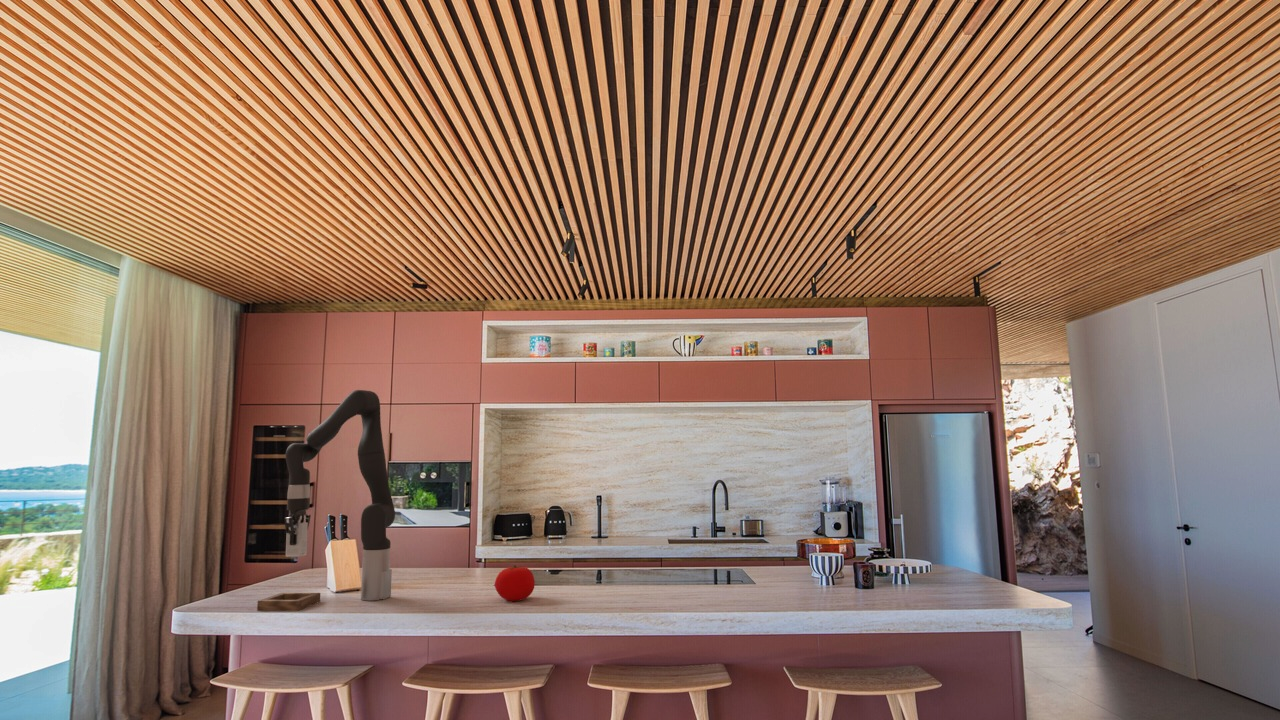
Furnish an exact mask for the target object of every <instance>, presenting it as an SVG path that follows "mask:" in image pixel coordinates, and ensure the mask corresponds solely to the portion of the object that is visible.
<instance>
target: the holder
mask: <svg viewBox="0 0 1280 720" xmlns="http://www.w3.org/2000/svg"><path fill="white" fill-rule="evenodd" d="M317 602H318V603H320V602H321V592H280V593H277V594H273V595H272V596H271V595H270V596H268V597H266V598H262V599H259V600H257V607H256V610H257V609H258V610H257V611H282V612H283V611H284V612H285V611H289V612H290V611H295V612H296V611H298V612H299V611H300V610H303V609H305V608H308V607H310V605H311V606H313V605H315V603H316V604H317Z"/></svg>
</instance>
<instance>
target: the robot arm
mask: <svg viewBox="0 0 1280 720" xmlns="http://www.w3.org/2000/svg"><path fill="white" fill-rule="evenodd" d="M355 416H360V417H361V423H362V424H361V426H362V433H361V437H360V440H359V443H358V447H357V459H358V466H359V467H358V468H359V471H360V473H361V476H362V477H363V480H364V482H365V483H366V485H367V487H368V489H369V491H370V497H371V504H369V505H367V506H365V508H364V509H363V510H362V513H361V519H360V537H361V538H360V540H361V543H362V563H361V564H362V568H361V569H362V570H361V586H360V587H361V592H360V600H362V601H380V600H379V599H384V600H385V598H386V599H388V598H390V597H391V596H392V578H393V577H392V575H393V572H392V569H391V568H390V567H391V543H392V542H391V540H390V539H389V538H388V537H387V534H386V528H389V527H390V526H392V525H393V524H394V522H395V518H396V510H395V506H394V502H393V498H392V497H393V496H392V494H391V489H390V483H389V477H388V470H387V461H386V453H385V448H384V447H385V446H384V441H383V440H384V439H383V434H382V433H383V432H382V425H381V422H382V421H381V402H380V398H379V396H378V394H377V393H376V392H374V391H371V390H364V389H355V390H353V391H352V392H350V393H349V394H348V395H347V396H346V397H345V398H344V399H343V401H342V402H341V403H340V404H339V405H338V406H337V407H336V409H335V410H334V411H333V412H332V413H330V415H329V416H328V417H327V418H326V419H325V420H324V421H323V422H322V423H320V424H319V425H317V426H316V427H315V428H314V429H313V430H311V431H310V432H309V433H308V435H306V442H303V443H301V442H300V443H297V442H293V443H291V444H289V446H288V447H287V449H286V451H285V454H284V455H285V462H286V467H287V470H288V473H289V475H288V489H287V498H286V499H287V500H286V502H287V504H286V511H289V514H288V515H289V516H288V517H284V519H283V521H284V527H285V528H284V529H285V534H286V533H288V534H289V535H290V545H296V541H297V535H295V534H297V528H298V527H299V523H302V522H308V529H307V531H308V530H309V527H310V522H311V521H310V520H311V517H312V516H311V514H307V511H308V510H309V509H310V501H311V487H310V484H311V481H310V480H311V474H310V473H311V472H310V469H307V468H305V467H304V463H307V462H310V461H312V460H313V459H314V458H316V457H317V456H318V454H319V453H320V451H322V448H323V447H324V446H326V445H327V444H328V443H330V442H331V441H332V440H333V439H334V438H335V437H336V436H337V435H338V434H339V433H340V430H341V428H342V427H343V425H344V424H345V423H346V422H348V420H350V419H351V418H354V417H355ZM296 524H297V525H296ZM293 525H296V526H293ZM289 528H290V529H289ZM294 528H295V530H294ZM389 596H390V597H389ZM387 597H388V598H387Z"/></svg>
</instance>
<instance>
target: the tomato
mask: <svg viewBox="0 0 1280 720" xmlns="http://www.w3.org/2000/svg"><path fill="white" fill-rule="evenodd" d="M535 582H536V581H535V576H534V574H533V572H532V571H531V570H530V568H528V567H525V566H522V565H521V566H518V565H516V564H514V565H513V566H509V567H506V568H503V569H502V570H501V571H500V572H499V573H498V574H497V576H496V579H495V582H494V589H495V590H496V592H497V594H498V596H499V597H500V598H502V599H504V600H506V601H509V602H516V601H523V600H524V599H527V598H528V597H529V596H531V594H533V591H534V589H535Z"/></svg>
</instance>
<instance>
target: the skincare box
mask: <svg viewBox="0 0 1280 720" xmlns="http://www.w3.org/2000/svg"><path fill="white" fill-rule="evenodd" d="M296 525H297V524H296ZM296 525H293V526H296ZM289 529H290V528H289ZM307 529H308V530H309V527H308V522H302V523H299V527H298V528H297V534H295V535H297V541H296V545H290V535H289V534H288V533H286V532H285V534H286V535H285V537H286V539H285V557H286V558H287V557H288V558H289V557H290V558H291V557H292V558H293V557H303V556H306V555H308V530H307ZM294 530H295V528H294Z"/></svg>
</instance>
